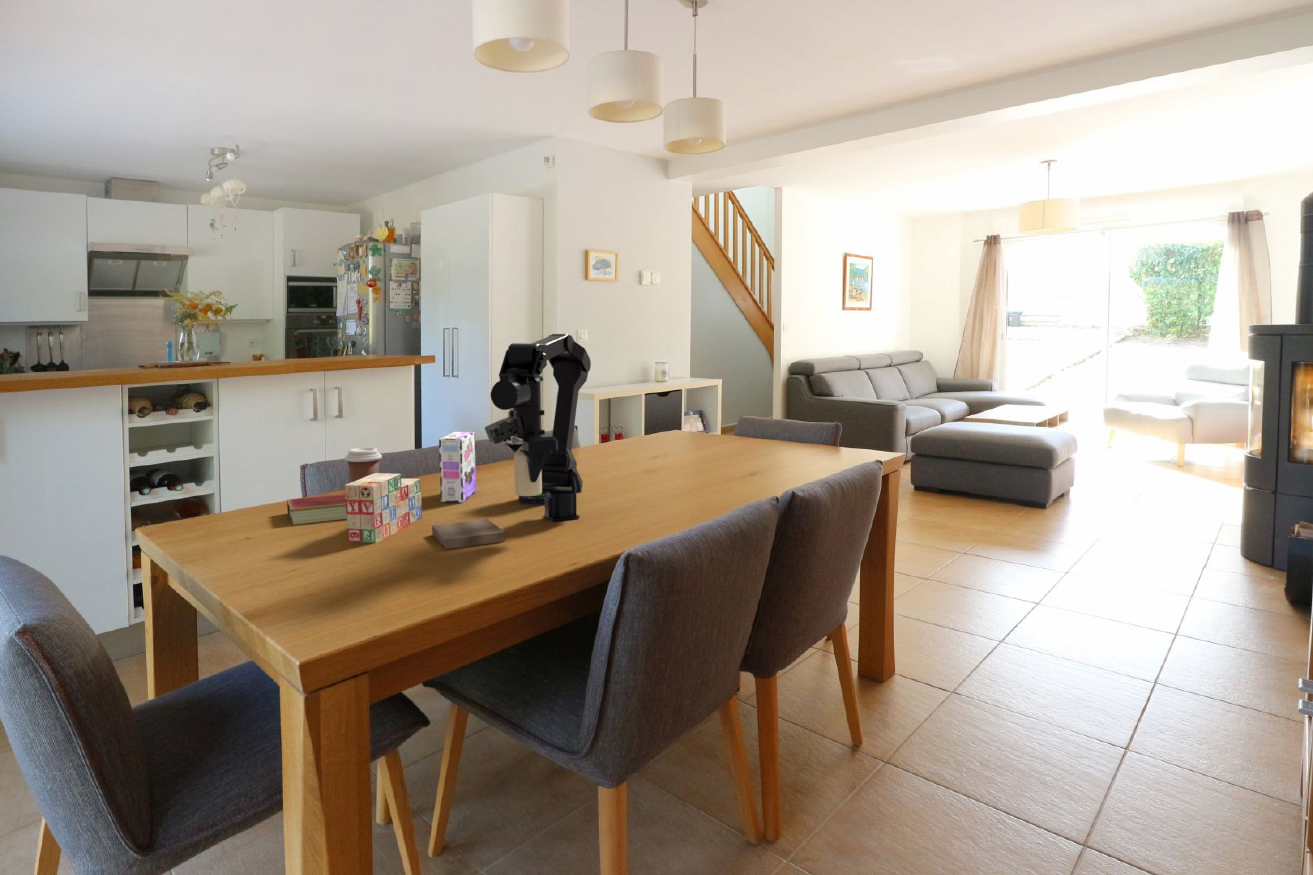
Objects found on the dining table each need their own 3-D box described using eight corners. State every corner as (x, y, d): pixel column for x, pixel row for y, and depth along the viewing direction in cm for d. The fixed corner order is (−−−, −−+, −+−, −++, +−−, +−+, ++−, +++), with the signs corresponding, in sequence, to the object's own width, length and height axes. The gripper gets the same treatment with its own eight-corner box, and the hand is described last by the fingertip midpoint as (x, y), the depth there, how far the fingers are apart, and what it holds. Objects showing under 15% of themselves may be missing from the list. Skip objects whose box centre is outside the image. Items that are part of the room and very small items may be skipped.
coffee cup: (352, 491, 202) (350, 446, 200) (387, 490, 203) (385, 446, 201) (342, 498, 193) (339, 452, 191) (378, 498, 194) (376, 452, 192)
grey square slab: (487, 527, 166) (487, 518, 166) (504, 541, 156) (504, 531, 156) (432, 534, 160) (431, 525, 160) (446, 549, 150) (446, 539, 150)
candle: (546, 491, 159) (545, 445, 158) (533, 497, 154) (532, 449, 153) (523, 490, 161) (522, 443, 159) (510, 495, 156) (508, 447, 154)
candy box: (463, 503, 189) (461, 438, 187) (440, 503, 189) (437, 438, 187) (477, 491, 203) (475, 430, 200) (455, 491, 203) (453, 430, 201)
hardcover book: (287, 515, 178) (286, 497, 177) (381, 505, 188) (380, 488, 188) (291, 527, 168) (290, 508, 167) (390, 515, 178) (389, 498, 177)
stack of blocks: (397, 516, 176) (394, 464, 174) (422, 518, 175) (420, 465, 173) (347, 542, 155) (344, 483, 153) (375, 544, 154) (372, 485, 152)
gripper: (474, 402, 159) (477, 475, 161) (503, 411, 143) (505, 492, 145) (525, 400, 164) (526, 470, 167) (558, 408, 148) (559, 486, 151)
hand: (528, 479), depth 157 cm, fingers closed on candle, 5 cm apart
